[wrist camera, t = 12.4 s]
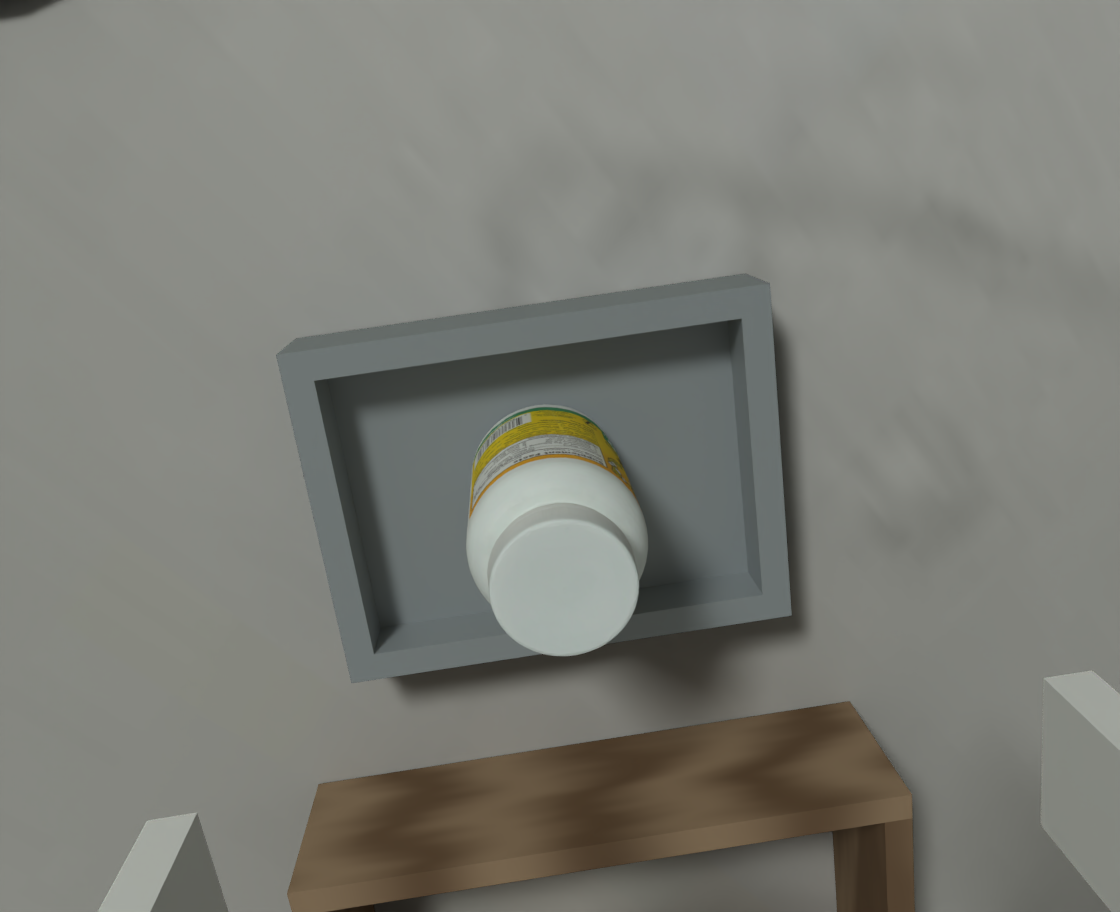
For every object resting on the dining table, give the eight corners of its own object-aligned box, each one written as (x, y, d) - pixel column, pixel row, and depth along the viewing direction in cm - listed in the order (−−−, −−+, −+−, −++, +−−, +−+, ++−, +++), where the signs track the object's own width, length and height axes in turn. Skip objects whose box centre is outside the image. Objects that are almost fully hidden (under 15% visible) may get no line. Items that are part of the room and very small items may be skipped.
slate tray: (746, 273, 33) (770, 283, 30) (768, 580, 36) (791, 615, 34) (295, 338, 32) (276, 354, 30) (363, 642, 36) (351, 682, 33)
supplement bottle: (480, 392, 32) (475, 479, 23) (631, 411, 33) (683, 503, 24) (463, 535, 34) (451, 669, 25) (607, 550, 34) (647, 688, 25)
